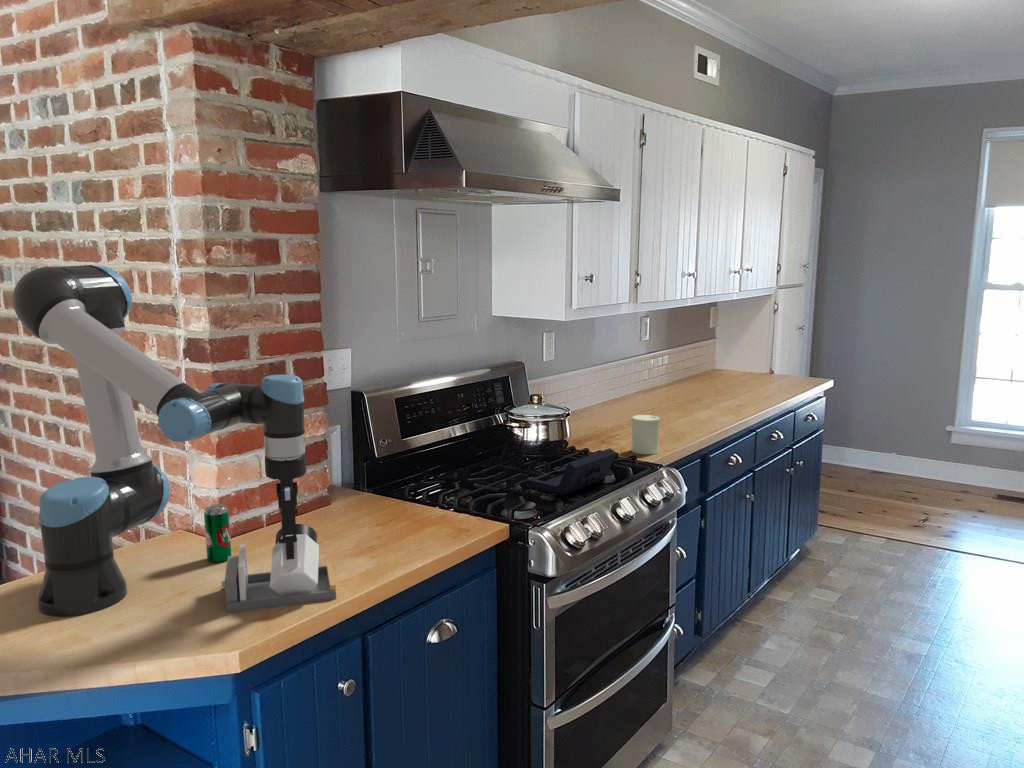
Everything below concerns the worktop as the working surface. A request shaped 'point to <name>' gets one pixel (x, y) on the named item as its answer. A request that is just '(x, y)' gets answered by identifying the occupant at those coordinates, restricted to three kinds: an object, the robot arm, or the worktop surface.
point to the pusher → (242, 574)
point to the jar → (307, 570)
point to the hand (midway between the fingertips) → (290, 560)
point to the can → (645, 434)
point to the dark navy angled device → (575, 473)
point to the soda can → (217, 533)
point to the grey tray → (265, 596)
